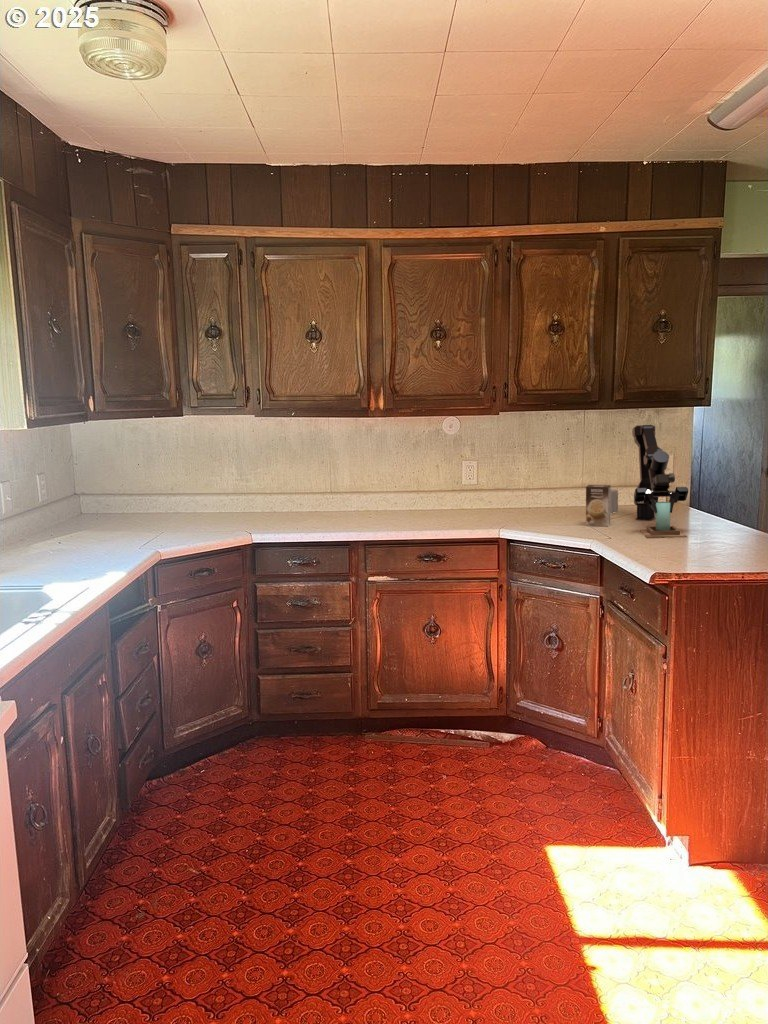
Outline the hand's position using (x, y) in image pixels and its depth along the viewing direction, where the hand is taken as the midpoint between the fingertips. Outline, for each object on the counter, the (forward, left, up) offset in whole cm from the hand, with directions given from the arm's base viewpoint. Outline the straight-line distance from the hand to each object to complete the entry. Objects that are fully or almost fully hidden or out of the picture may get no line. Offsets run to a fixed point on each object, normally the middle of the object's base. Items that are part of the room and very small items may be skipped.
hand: (663, 512), depth 283 cm
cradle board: (-1, +1, -8) cm, 9 cm away
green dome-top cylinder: (-1, +1, -7) cm, 7 cm away
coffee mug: (-35, +47, -9) cm, 59 cm away
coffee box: (-29, +13, -9) cm, 33 cm away
